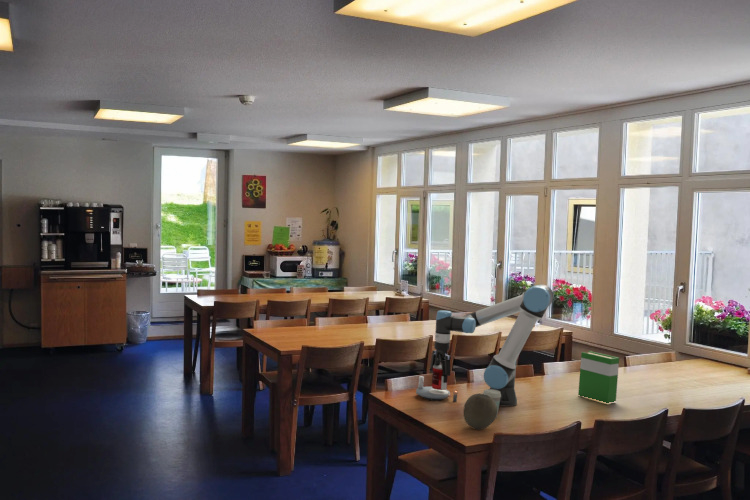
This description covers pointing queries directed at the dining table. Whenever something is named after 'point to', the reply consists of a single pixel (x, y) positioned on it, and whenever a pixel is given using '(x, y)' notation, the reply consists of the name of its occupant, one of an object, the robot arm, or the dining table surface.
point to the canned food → (437, 377)
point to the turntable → (431, 391)
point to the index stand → (441, 399)
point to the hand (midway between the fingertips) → (439, 386)
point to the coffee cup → (493, 396)
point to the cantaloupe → (480, 411)
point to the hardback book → (598, 376)
